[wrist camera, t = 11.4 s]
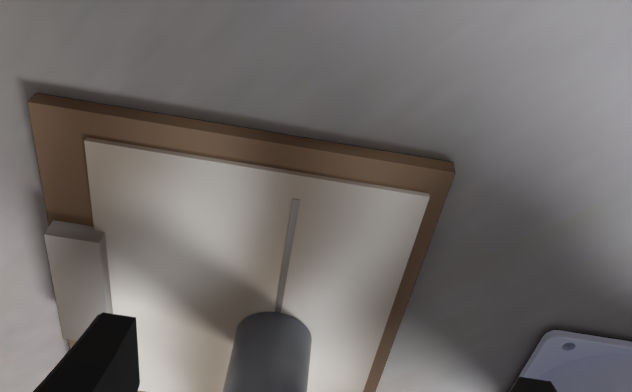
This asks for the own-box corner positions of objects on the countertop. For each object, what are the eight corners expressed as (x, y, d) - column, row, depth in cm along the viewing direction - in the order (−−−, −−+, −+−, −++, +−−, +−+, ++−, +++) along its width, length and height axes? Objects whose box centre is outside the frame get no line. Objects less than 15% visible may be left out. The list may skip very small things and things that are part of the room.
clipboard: (453, 162, 20) (458, 187, 19) (360, 420, 30) (360, 447, 28) (35, 93, 19) (15, 114, 18) (82, 378, 29) (71, 404, 28)
